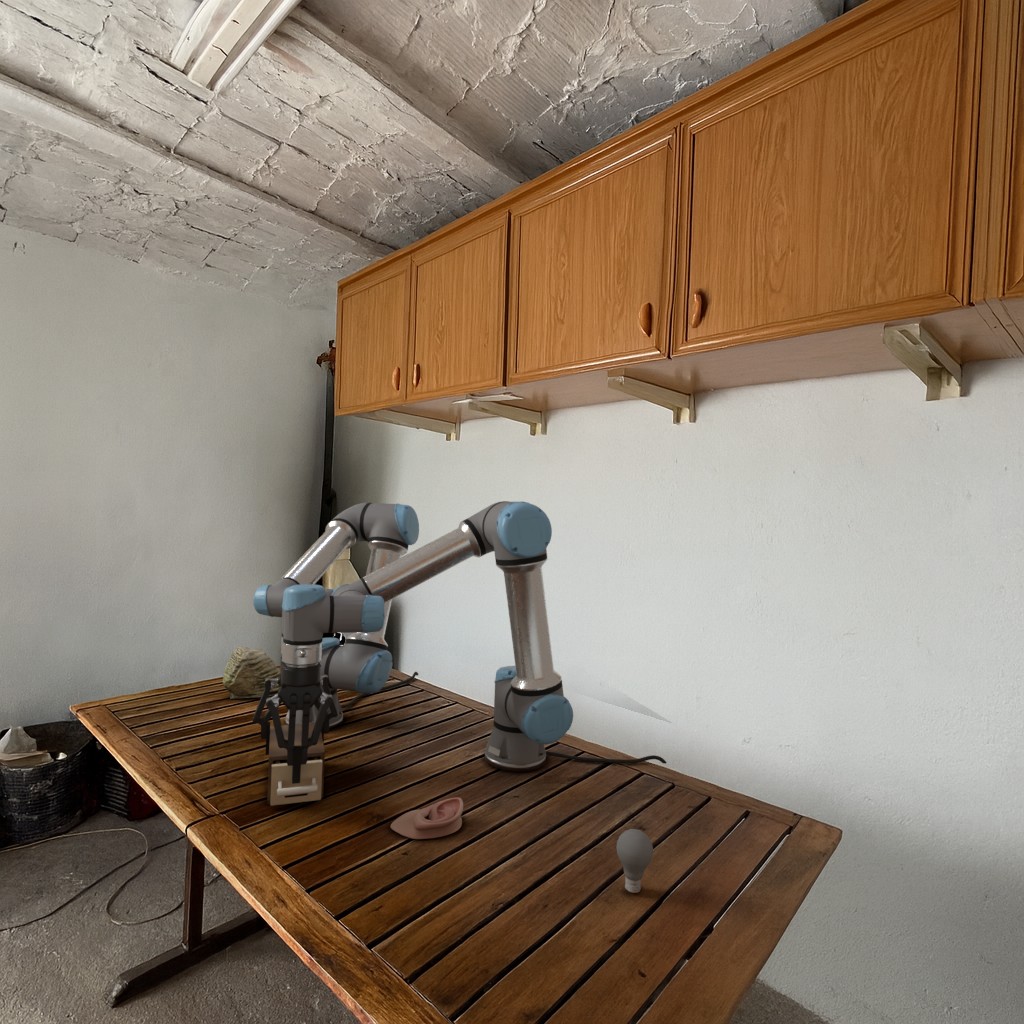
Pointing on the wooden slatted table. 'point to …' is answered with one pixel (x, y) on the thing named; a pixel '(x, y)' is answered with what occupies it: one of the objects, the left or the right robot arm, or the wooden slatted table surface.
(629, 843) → the light bulb
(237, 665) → the fossil
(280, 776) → the drawer
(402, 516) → the left robot arm
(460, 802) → the anatomical model
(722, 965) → the wooden slatted table surface
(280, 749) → the tall brown box
